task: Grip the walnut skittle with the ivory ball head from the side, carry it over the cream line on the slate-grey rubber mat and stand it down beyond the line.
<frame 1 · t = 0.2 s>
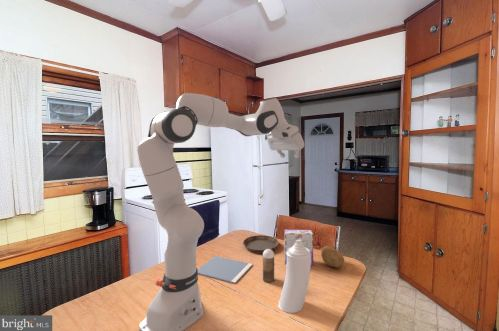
hand: (290, 157, 119), 54 cm above the table, tool tilted 30°, fingers open, 8 cm apart
potato: (332, 265, 122), on the table
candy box: (298, 263, 125), on the table
plant saucer: (260, 247, 145), on the table
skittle: (268, 279, 110), on the table
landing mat: (224, 269, 119), on the table
spray can: (294, 304, 93), on the table
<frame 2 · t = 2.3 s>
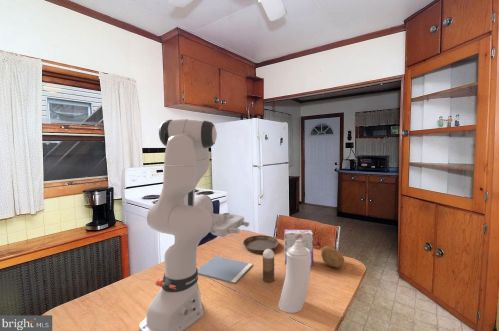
hand: (243, 227, 113), 22 cm above the table, tool horizontal, fingers open, 8 cm apart
nothing on the table moved.
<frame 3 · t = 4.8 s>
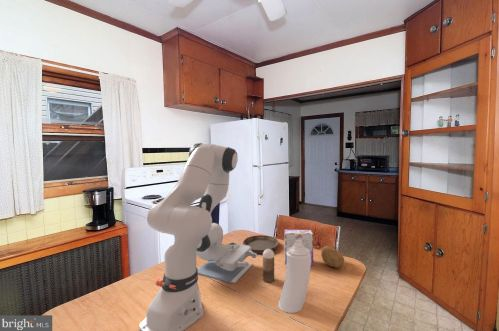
hand: (251, 260, 112), 7 cm above the table, tool horizontal, fingers open, 8 cm apart
nothing on the table moved.
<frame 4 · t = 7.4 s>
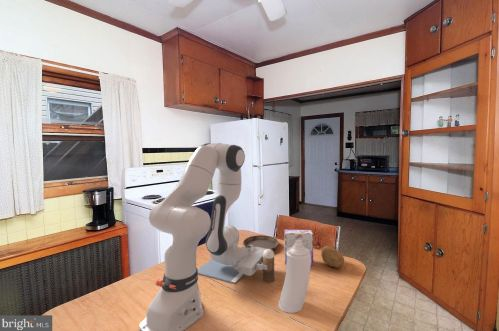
hand: (270, 263, 108), 8 cm above the table, tool horizontal, fingers closed on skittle, 5 cm apart
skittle: (268, 279, 110), on the table, touching gripper
everything else where it was.
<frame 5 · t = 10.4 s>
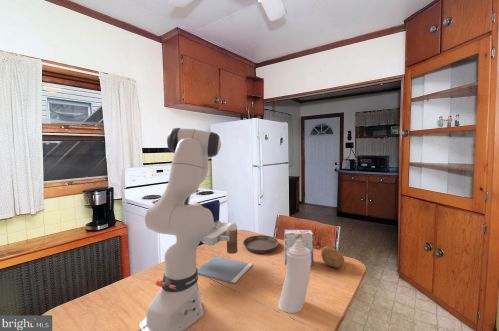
hand: (233, 236, 116), 17 cm above the table, tool horizontal, fingers closed on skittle, 5 cm apart
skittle: (232, 251, 117), point 10 cm above the table, touching gripper
everything else where it was.
when the fingers open (10 cm above the table, at t = 13.7 s): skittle drops 1 cm, resting on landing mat.
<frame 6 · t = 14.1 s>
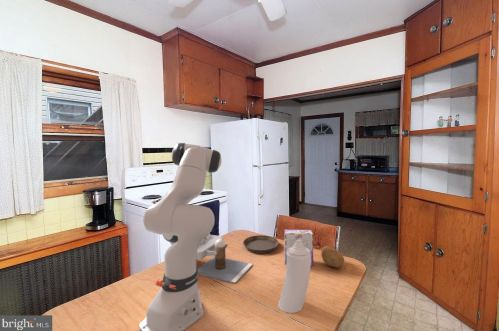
hand: (221, 249, 119), 10 cm above the table, tool horizontal, fingers open, 8 cm apart
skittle: (220, 267, 120), point 1 cm above the table, touching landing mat
everything else where it was.
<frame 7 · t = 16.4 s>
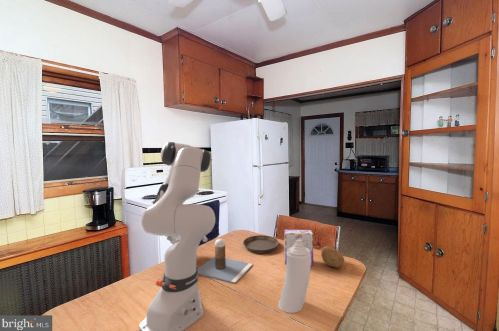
hand: (200, 242, 123), 12 cm above the table, tool horizontal, fingers open, 8 cm apart
nothing on the table moved.
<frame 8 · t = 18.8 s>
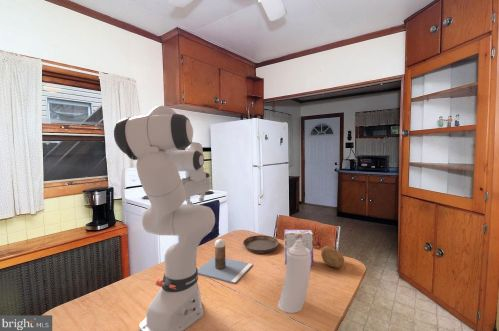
hand: (195, 203, 122), 31 cm above the table, tool pointing down, fingers open, 8 cm apart
nothing on the table moved.
at the end: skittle inside the target area (0.1 cm from its centre), point 0.7 cm above the table; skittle tilted 1°; the gripper is holding nothing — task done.
